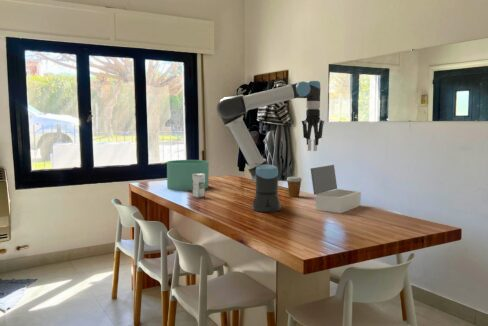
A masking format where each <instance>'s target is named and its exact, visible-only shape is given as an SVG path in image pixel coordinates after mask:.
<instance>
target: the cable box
mask: <svg viewBox="0 0 488 326" xmlns="http://www.w3.org/2000/svg"><path fill="white" fill-rule="evenodd" d="M361 194H362V192H361V191H357V190H348V189H341V188H337V189H334V190H330V191H327V192H323V193H319V194H315V202H316V203H315V210H316V211H323V212H329V213H334V214H342V213H345V212H347V211H352V210H353V209H355V208H358V207H360V206H361V197H362V196H361Z"/></svg>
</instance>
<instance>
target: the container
mask: <svg viewBox="0 0 488 326" xmlns="http://www.w3.org/2000/svg"><path fill="white" fill-rule="evenodd" d="M209 169H210V167H209V161H208V160H202V159H178V160H177V159H176V160H175V159H174V160H167V162H166V179H167V180H166V186H167V187H166V188H167V189H169V190H175V191H192V174H197V173H202V174H205V190H206V189H208V188H209V186H210V185H209V176H210V174H209V171H210V170H209Z"/></svg>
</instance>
